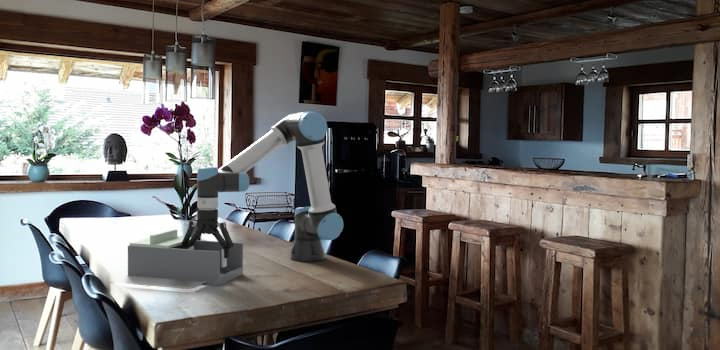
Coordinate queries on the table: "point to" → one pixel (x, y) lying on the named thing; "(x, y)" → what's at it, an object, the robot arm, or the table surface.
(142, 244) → the cover
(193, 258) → the housing
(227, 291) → the table surface
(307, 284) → the table surface
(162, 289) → the table surface
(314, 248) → the robot arm
